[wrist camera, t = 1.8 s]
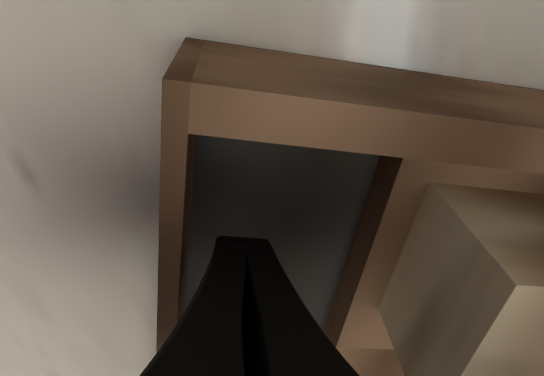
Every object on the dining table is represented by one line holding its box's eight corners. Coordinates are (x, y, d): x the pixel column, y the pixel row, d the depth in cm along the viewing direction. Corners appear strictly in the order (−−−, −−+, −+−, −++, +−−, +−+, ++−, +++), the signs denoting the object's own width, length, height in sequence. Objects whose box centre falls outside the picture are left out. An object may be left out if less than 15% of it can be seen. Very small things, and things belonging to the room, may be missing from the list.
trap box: (918, 145, 14) (1132, 206, 11) (635, 417, 23) (705, 499, 19) (185, 37, 11) (162, 78, 7) (168, 411, 19) (153, 513, 15)
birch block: (585, 198, 12) (729, 299, 8) (510, 316, 14) (597, 431, 11) (429, 182, 11) (517, 284, 8) (378, 309, 14) (426, 430, 10)
